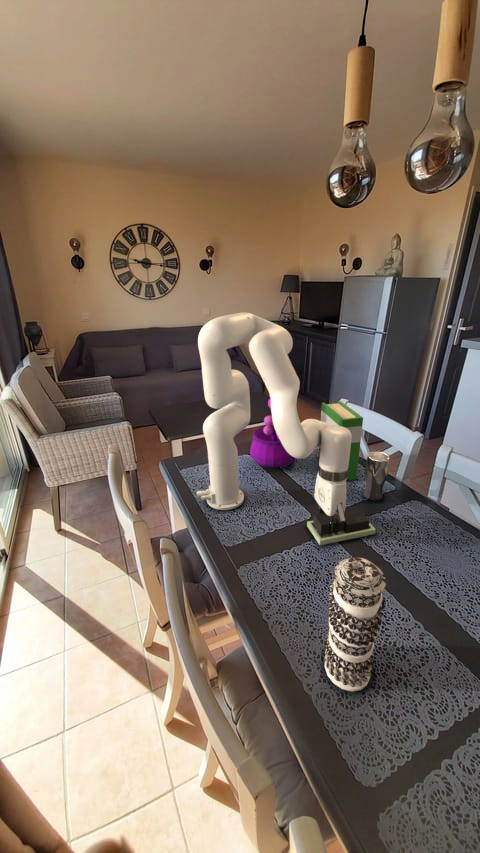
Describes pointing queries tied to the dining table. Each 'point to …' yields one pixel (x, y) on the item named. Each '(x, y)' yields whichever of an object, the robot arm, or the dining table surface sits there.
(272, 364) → the robot arm
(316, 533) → the tray
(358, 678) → the decorative candle
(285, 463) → the decorative plant
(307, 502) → the dining table surface
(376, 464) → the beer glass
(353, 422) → the hardback book
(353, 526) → the seated pad
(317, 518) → the black rectangular block
